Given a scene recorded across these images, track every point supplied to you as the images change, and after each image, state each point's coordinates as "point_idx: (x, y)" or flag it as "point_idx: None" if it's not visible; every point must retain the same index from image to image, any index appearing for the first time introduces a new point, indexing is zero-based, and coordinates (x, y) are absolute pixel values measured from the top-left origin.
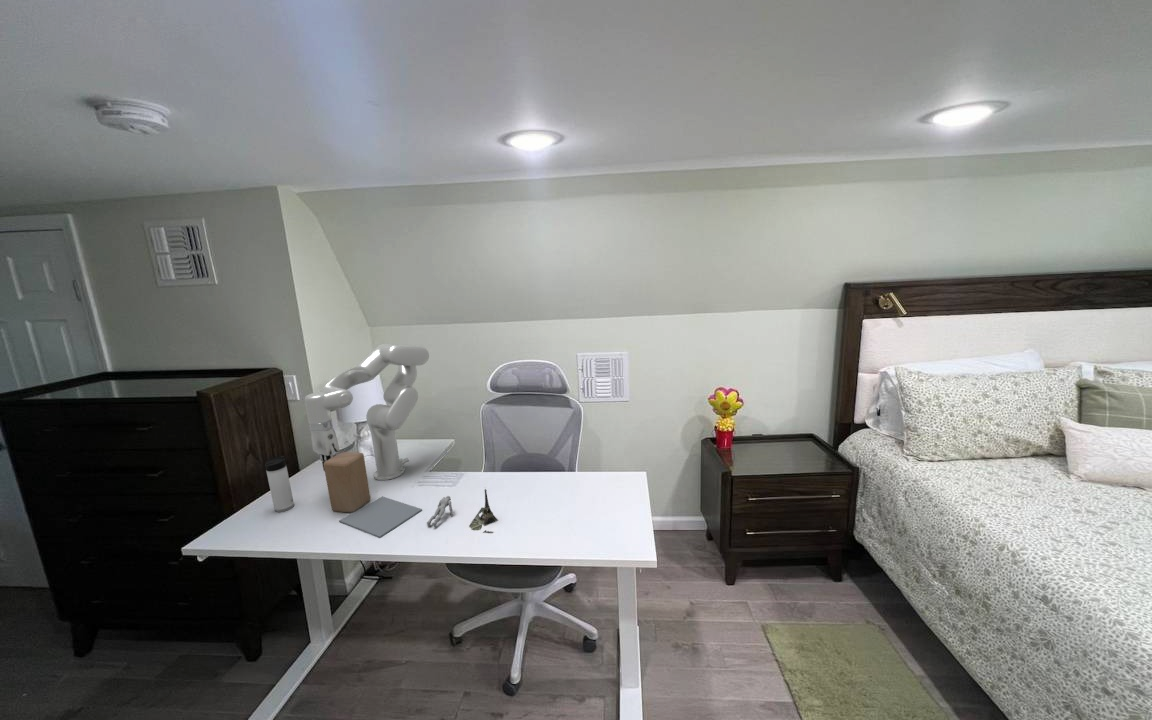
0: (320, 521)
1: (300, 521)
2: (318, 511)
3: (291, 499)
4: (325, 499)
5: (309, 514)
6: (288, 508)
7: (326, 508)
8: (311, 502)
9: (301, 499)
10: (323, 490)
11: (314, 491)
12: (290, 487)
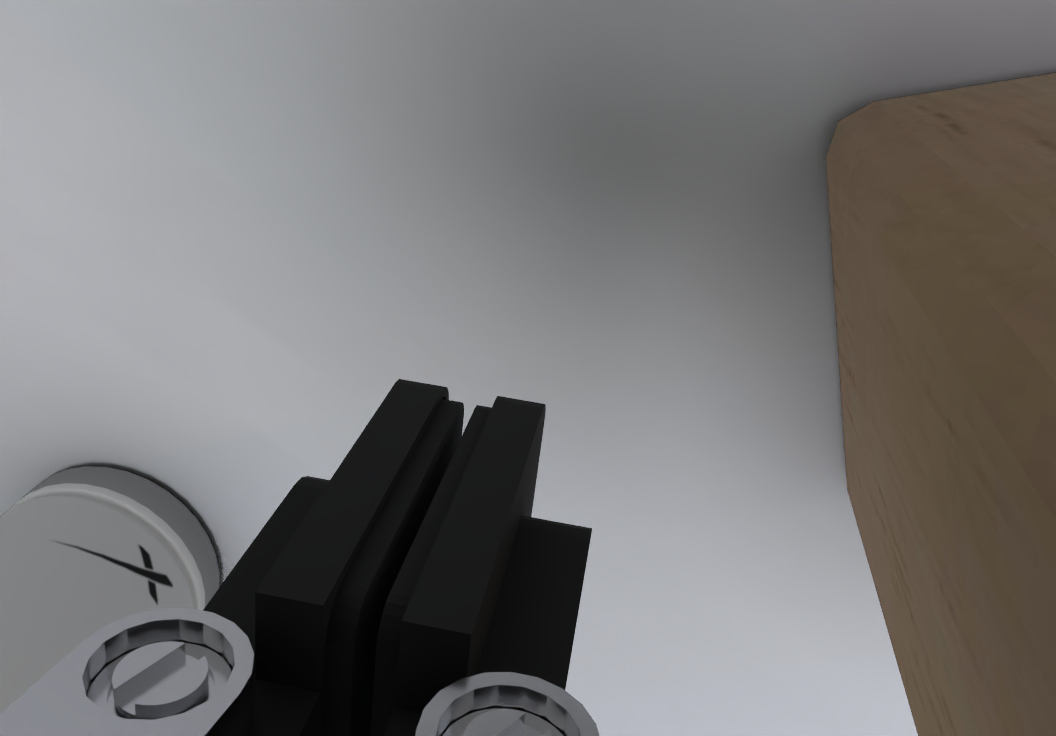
0: (889, 687)
1: (623, 724)
2: (644, 527)
3: (148, 594)
4: (435, 259)
5: (588, 600)
6: (214, 590)
7: (691, 447)
8: (314, 377)
9: (94, 352)
10: (116, 42)
11: (17, 116)
12: (3, 681)
